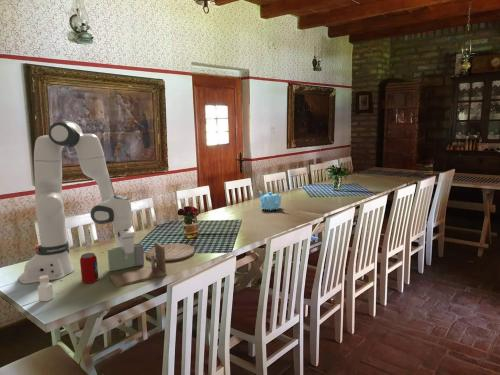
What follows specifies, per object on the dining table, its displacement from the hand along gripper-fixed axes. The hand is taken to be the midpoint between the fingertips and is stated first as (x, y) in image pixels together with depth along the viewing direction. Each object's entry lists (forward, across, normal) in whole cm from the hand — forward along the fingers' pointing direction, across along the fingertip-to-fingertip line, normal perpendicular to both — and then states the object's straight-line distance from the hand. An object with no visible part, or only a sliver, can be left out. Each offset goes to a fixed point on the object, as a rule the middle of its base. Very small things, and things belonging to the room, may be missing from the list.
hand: (125, 257), depth 179 cm
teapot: (+4, -57, +125) cm, 138 cm away
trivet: (+6, -7, +25) cm, 26 cm away
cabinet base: (+5, +14, +2) cm, 15 cm away
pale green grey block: (+5, 0, 0) cm, 5 cm away
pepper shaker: (+6, +15, -35) cm, 38 cm away
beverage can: (+6, +6, -17) cm, 19 cm away
